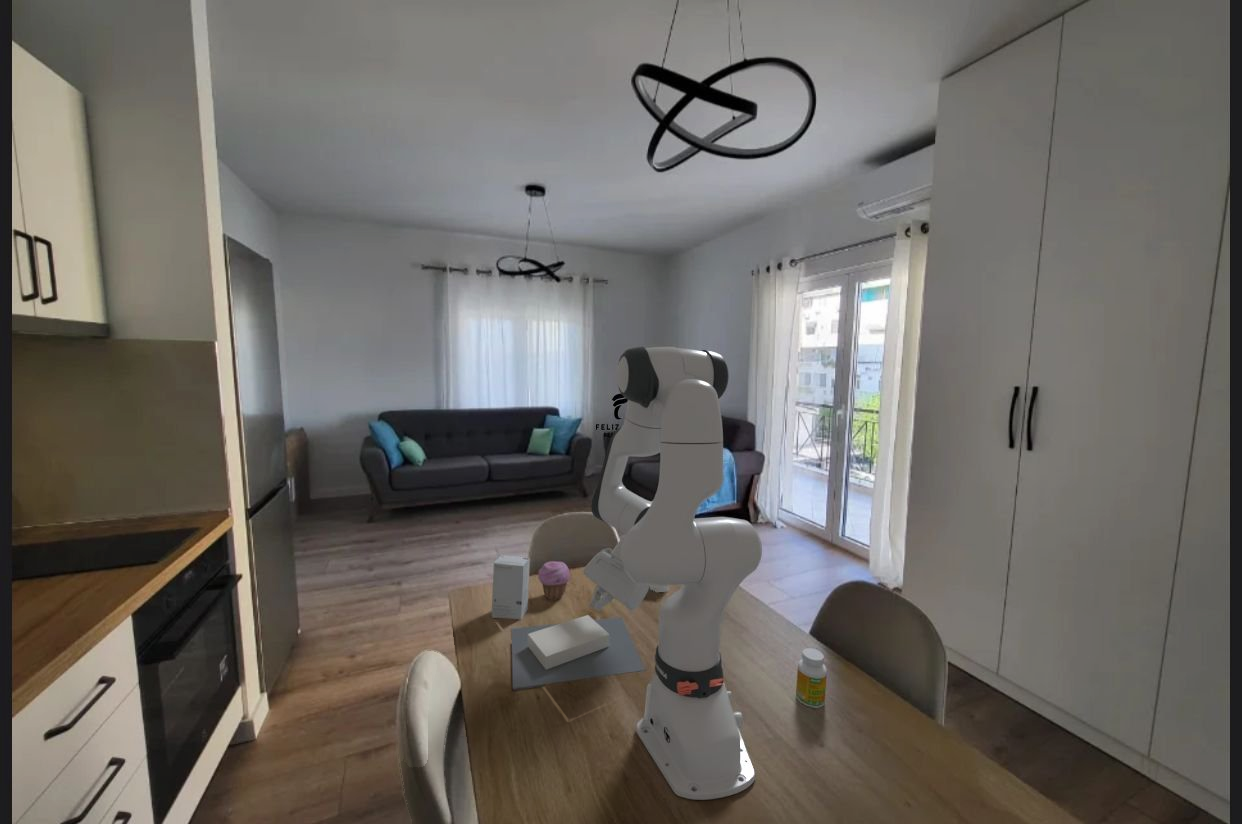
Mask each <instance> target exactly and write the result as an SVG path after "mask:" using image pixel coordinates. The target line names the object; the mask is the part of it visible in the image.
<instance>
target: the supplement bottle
mask: <svg viewBox="0 0 1242 824" xmlns="http://www.w3.org/2000/svg"><path fill="white" fill-rule="evenodd" d="M824 663H825V655H824V654H823V653H822V652H821V651H820V650H818V649H816V648H810V647H809V648H804V649H803V650H802V653H801V659H800V660H799V661H798V663H797V670H796V671H797V674H796V675H797V676H796V677H797V678H796V689H795V697H796V699H797V700H798V702H799V703H801V704H802V703H803V704H804V706H805V705H806V706H805V707H807V706H810V707H814V708H813V709H820V708H822V707H823V706H824V705H825V701H826V692H827V691H826V688H827V677H828V676H827V674H828V670H827V667H826V665H825V664H824ZM803 704H802V705H803ZM810 707H809V708H810ZM819 707H820V708H819Z"/></svg>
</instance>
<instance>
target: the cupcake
mask: <svg viewBox="0 0 1242 824" xmlns="http://www.w3.org/2000/svg"><path fill="white" fill-rule="evenodd" d="M570 577H571V576H570V569H569V567H568V565H567V564H566V563H565V562H563V561H547V562H545V563H544V564H542V566H541V567H540V569H539V570H538V580H539V581H540V583H541V584H542V590H543V594H544V596H545V597H546V598H547V600H548V601H555V599H556V600H558V599H561V598H562V597H563V596H564V594H565V592H566V589H567V588H566V587H567V584H568V582H569V580H570Z"/></svg>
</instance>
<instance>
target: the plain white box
mask: <svg viewBox="0 0 1242 824" xmlns="http://www.w3.org/2000/svg"><path fill="white" fill-rule="evenodd" d="M594 620H595V619H594V618H592V617H591V616H590V615H589V614H586V615H584V616H580V617H577V618H574V619H570V620H567V621H565V622H561V623H557V624H558V625H554V626H551V627H548V628H545V629H542V630H539V631H536V632H532V633H529V634H528V647H529V649H530V650H531V651H532V652H533V654H534V655H535V656H536V658H537V659H538V660H539V661H540V663H541V664H542V665H543V667H544V668H545V669H546V670H547V669H550V668H552V667H555V666H558V665H560V664H563V663H566V662H569V661H571V660H574V659H577V658H579V657H582V656H585V655H587V654H590V653H593V652H596V651H598V650H601V649H604V648H606V647H609V634H608V633H607V632H606V631H605V630H604V629H603V628H602V627H601V626H600V625H599V624H598V623H596V622H595V621H594Z"/></svg>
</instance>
